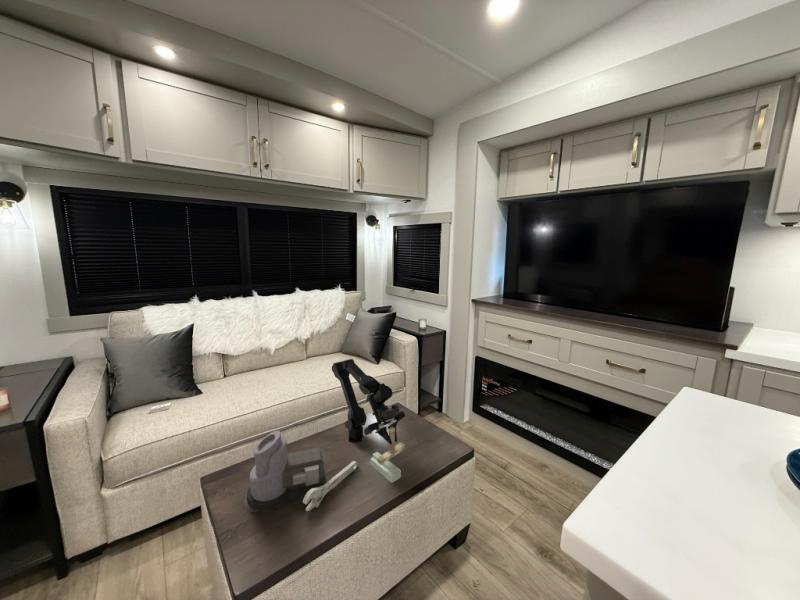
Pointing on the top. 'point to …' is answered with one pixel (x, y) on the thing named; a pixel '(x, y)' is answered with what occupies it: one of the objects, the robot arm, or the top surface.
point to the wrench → (326, 487)
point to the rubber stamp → (391, 448)
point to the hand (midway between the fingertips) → (393, 442)
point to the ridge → (385, 468)
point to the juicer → (282, 474)
